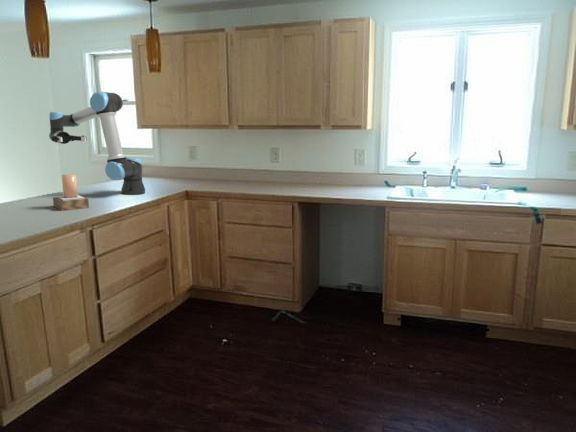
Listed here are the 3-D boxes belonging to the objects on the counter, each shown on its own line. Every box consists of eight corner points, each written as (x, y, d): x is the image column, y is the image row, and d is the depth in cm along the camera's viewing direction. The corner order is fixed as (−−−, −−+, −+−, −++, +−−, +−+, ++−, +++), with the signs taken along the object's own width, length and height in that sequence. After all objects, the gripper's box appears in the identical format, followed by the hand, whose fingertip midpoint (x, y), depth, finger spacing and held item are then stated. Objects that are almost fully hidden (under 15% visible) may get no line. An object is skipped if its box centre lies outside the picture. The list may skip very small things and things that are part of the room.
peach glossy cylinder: (75, 195, 257) (73, 174, 254) (79, 197, 252) (78, 175, 249) (61, 196, 252) (60, 174, 250) (65, 198, 247) (64, 176, 245)
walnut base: (79, 203, 263) (79, 194, 262) (88, 207, 253) (88, 197, 252) (53, 206, 253) (52, 196, 252) (61, 210, 243) (61, 200, 242)
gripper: (83, 143, 299) (95, 145, 284) (41, 143, 282) (51, 146, 267) (82, 131, 298) (94, 133, 282) (40, 131, 281) (50, 133, 266)
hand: (73, 139), depth 275 cm, fingers open, 13 cm apart
